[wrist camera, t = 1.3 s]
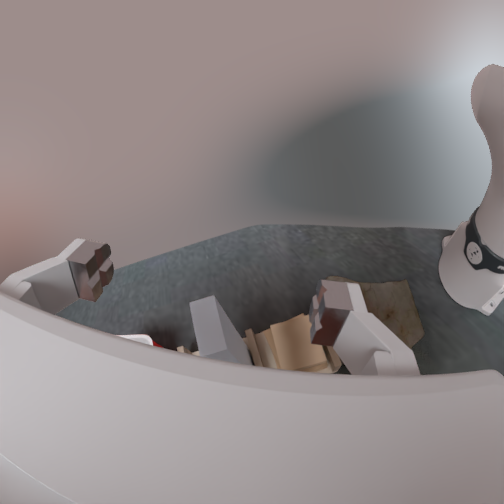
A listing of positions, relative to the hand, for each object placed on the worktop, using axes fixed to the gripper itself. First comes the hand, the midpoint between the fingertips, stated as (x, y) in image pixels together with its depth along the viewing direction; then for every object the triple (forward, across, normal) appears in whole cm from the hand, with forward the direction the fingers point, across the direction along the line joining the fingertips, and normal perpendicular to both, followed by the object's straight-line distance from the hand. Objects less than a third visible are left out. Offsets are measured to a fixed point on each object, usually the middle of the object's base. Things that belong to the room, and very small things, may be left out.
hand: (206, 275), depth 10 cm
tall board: (+17, -3, +30) cm, 35 cm away
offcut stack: (+20, -10, +28) cm, 35 cm away
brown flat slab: (+25, -22, +24) cm, 41 cm away
